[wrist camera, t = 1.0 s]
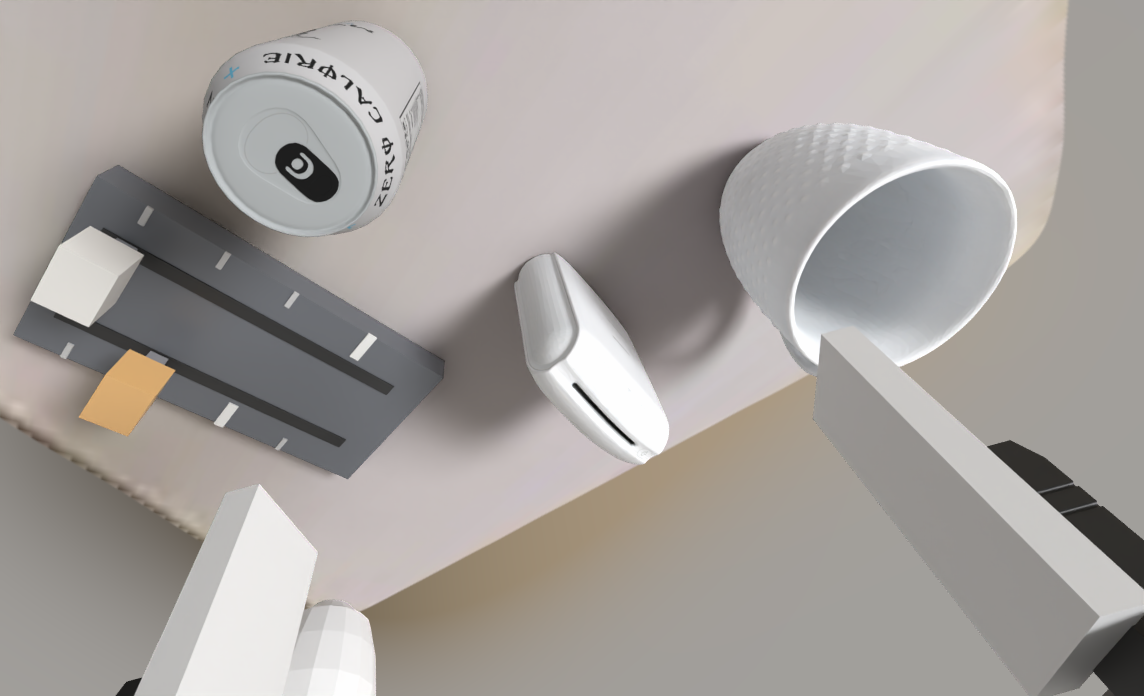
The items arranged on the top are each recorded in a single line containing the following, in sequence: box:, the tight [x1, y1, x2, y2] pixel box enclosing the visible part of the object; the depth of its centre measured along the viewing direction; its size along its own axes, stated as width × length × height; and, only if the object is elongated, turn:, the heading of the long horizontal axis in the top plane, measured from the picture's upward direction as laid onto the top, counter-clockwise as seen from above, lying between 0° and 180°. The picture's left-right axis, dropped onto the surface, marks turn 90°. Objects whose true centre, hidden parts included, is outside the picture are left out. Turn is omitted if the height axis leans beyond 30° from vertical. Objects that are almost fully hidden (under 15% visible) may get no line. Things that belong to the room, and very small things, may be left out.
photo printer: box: [514, 252, 669, 464], centre depth 33 cm, size 10×4×12 cm, turn 36°
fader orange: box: [79, 349, 175, 436], centre depth 31 cm, size 2×4×4 cm, turn 136°
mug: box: [719, 123, 1017, 377], centre depth 31 cm, size 15×11×13 cm
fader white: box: [30, 226, 144, 327], centre depth 27 cm, size 2×4×4 cm, turn 136°
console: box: [13, 165, 445, 479], centre depth 35 cm, size 21×12×2 cm, turn 46°
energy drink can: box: [202, 21, 428, 237], centre depth 22 cm, size 6×6×15 cm
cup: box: [283, 599, 376, 696], centre depth 37 cm, size 7×7×21 cm
